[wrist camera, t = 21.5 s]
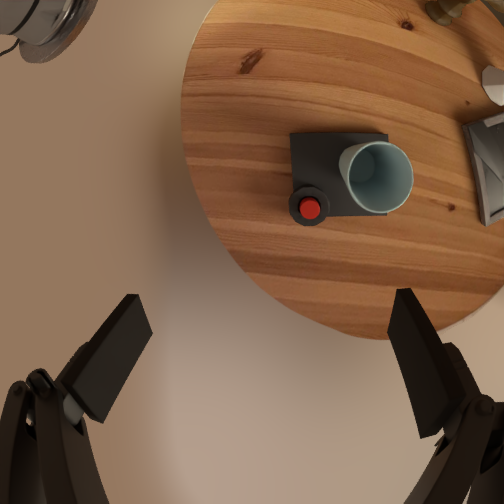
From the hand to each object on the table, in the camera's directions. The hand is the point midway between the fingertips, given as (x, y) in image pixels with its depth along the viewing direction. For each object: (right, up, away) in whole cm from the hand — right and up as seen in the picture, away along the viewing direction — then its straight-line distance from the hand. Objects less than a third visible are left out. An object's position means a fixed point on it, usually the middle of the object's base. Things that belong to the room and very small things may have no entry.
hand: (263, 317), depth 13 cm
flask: (+41, +32, +12) cm, 53 cm away
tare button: (+7, +9, +24) cm, 26 cm away
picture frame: (+42, +18, +18) cm, 49 cm away
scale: (+12, +14, +24) cm, 30 cm away
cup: (+14, +15, +22) cm, 30 cm away
